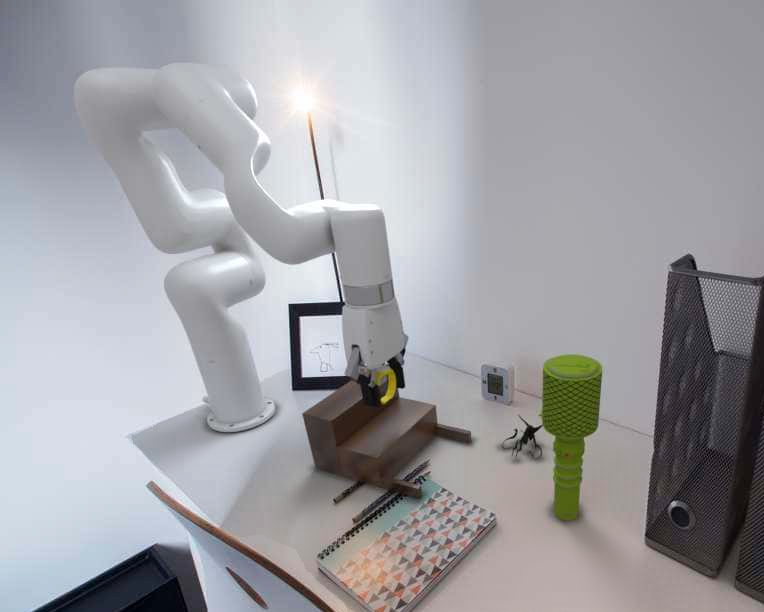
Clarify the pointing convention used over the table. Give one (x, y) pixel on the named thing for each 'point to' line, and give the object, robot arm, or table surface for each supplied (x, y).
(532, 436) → the creature
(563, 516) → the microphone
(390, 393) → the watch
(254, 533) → the table surface
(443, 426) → the step shelf
